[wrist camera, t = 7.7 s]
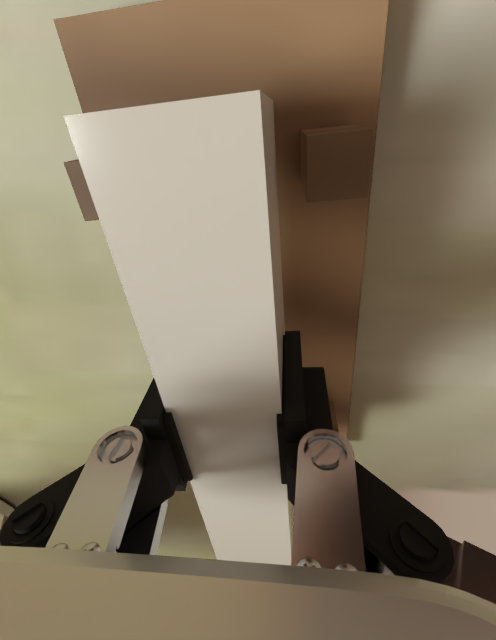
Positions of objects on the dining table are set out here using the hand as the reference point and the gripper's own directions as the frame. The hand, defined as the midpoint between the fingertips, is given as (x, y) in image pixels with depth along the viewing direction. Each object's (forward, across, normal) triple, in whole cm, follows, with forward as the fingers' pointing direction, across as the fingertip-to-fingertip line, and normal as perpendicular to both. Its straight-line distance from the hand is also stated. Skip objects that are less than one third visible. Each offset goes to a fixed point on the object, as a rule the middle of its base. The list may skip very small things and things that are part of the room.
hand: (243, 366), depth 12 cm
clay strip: (+1, 0, 0) cm, 1 cm away
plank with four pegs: (+5, 0, 0) cm, 5 cm away
